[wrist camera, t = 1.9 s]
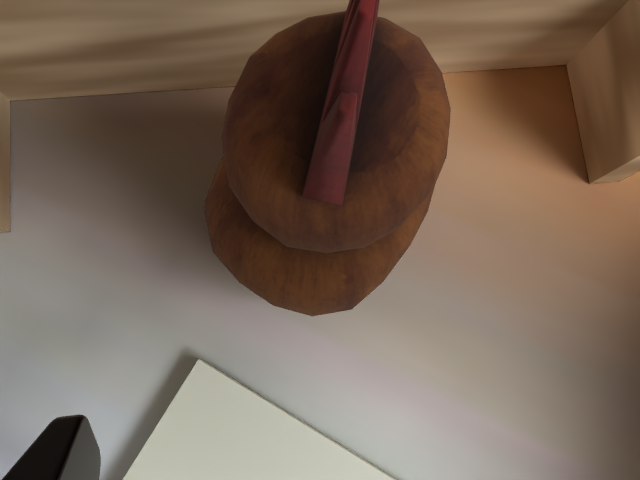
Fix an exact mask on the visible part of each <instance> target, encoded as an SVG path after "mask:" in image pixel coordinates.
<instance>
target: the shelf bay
mask: <svg viewBox="0 0 640 480" xmlns="http://www.w3.org/2000/svg"><path fill="white" fill-rule="evenodd" d="M349 1H350V0H0V232H10V101H14V100H29V99H45V98H60V97H76V96H91V95H107V94H122V93H138V92H153V91H168V90H184V89H199V88H215V87H230V86H236V84H237V82H238V80H239V78H240V76H241V74H242V72H243V69H244V67H245V65H246V63H247V61H248V59H249V57H250V56H251V55H252V54H253V53H254V52H256V51H257V50H258V49H259V48H260V47H261V46H262V45H264V44H265V43H266V42H267V41H268V40H269V39H270V38H272V37H273V36H274V35H275V34H276V33H278V32H280V31H282V30H284V29H286V28H288V27H290V26H292V25H294V24H296V23H298V22H300V21H302V20H304V19H306V18H308V17H313V16H319V15H325V14H331V13H336V12H342V11H346V10H347V7H348V4H349ZM377 17H382V18H386V19H388V20H389V21H391V22H393V23H395V24H396V25H398V26H400V27H402V28H403V29H405V30H407V31H409V32H410V33H412V34H414V35H416V36H417V37H419V38H420V39H421V40H422V42H423V43H424V45H425V46H426V48H427V50H428V51H429V53H430V54H431V56H432V58H433V59H434V61H435V62H436V64H437V66H438V67H439V69H440V70H441V72H442V73H447V72H462V71H477V70H493V69H508V68H524V67H539V66H555V65H566V66H567V71H568V76H569V81H570V86H571V92H572V97H573V102H574V107H575V112H576V117H577V122H578V127H579V133H580V138H581V143H582V148H583V153H584V158H585V163H586V168H587V173H588V179H589V184H595V183H607V182H619V181H621V180H623V179H625V178H627V177H629V176H631V175H633V174H635V173H636V172H638V171H640V0H380V2H379V9H378V16H377Z"/></svg>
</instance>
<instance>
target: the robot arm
mask: <svg viewBox="0 0 640 480" xmlns="http://www.w3.org/2000/svg"><path fill="white" fill-rule="evenodd" d="M100 464H101V457H100V450H99V447H98V444H97V441H96V439H95V436H94V434H93V431H92V429H91V426H90V423H89V421H88V419H87V418H86V417H85V416H84V415H72V416H63V417H58V418H56V419H54V420H53V421H52V422H51V423H50V424H49V425H48V426H47V427H46V429H45V430H44V431H43V432H42V433H41V434H40V436H39V437H38V438H37V439H36V440H35V441H34V443H33V444H32V445H31V446H30V447H29V448H28V450H27V451H26V452H25V453H24V454H23V455H22V457H21V458H20V459H19V460H18V461H17V462H16V464H15V465H14V466H13V467H12V468H11V469H10V471H9V472H8V473H7V474H6V475H5V476H4V478H3V479H2V480H99V475H100Z"/></svg>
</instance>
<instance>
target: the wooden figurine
mask: <svg viewBox="0 0 640 480" xmlns="http://www.w3.org/2000/svg"><path fill="white" fill-rule="evenodd" d="M379 2H380V0H350V1H349V4H348V7H347V10H346V11H342V12H336V13H331V14H325V15H319V16H313V17H308V18H306V19H304V20H302V21H300V22H298V23H296V24H294V25H292V26H290V27H288V28H286V29H284V30H282V31H280V32H278V33H276V34H275V35H274V36H273V37H272V38H270V39H269V40H268V41H267V42H266V43H265V44H264V45H262V46H261V47H260V48H259V49H258V50H257V51H256V52H254V53H253V54H252V55H251V56H250V57H249V59H248V61H247V63H246V65H245V67H244V69H243V72H242V74H241V76H240V78H239V80H238V82H237V84H236V86H235V88H234V90H233V92H232V94H231V97H230V99H229V101H228V107H227V112H226V117H225V122H224V128H223V133H222V143H223V152H224V157H223V159H222V161H221V162H220V164H219V166H218V169H217V172H216V174H215V177H214V179H213V182H212V185H211V187H210V190H209V193H208V195H207V198H206V200H205V216H206V221H207V226H208V230H209V235H210V240H211V245H212V249H213V252H214V253H215V255H216V256H217V257H218V258H219V259H220V260H221V262H222V263H223V264H224V265H225V266H226V267H227V268H228V270H229V271H230V272H231V273H232V274H233V275H234V277H235V278H236V279H237V280H238V281H239V282H240V283H241V284H243V285H244V286H246V287H247V288H249V289H250V290H251V291H253V292H254V293H256V294H257V295H259V296H260V297H262V298H263V299H265V300H266V301H267V302H269V303H270V304H272V305H274V306H277V307H281V308H284V309H288V310H292V311H295V312H299V313H302V314H306V315H310V316H316V315H322V314H328V313H334V312H339V311H345V310H351V309H353V308H354V307H355V306H356V305H357V304H358V303H360V302H361V301H362V300H363V299H364V298H365V297H366V296H367V295H369V294H370V293H371V292H372V291H373V290H374V289H375V288H377V287H378V286H379V285H380V284H381V283H382V282H383V281H384V280H385V278H386V277H387V276H388V274H389V273H390V272H391V270H392V269H393V268H394V266H395V265H396V263H397V262H398V261H399V259H400V258H401V257H402V255H403V254H404V253H405V251H406V250H407V249H408V247H409V246H410V244H411V242H412V240H413V239H414V237H415V235H416V233H417V231H418V229H419V227H420V225H421V223H422V221H423V219H424V217H425V215H426V213H427V211H428V208H429V204H430V201H431V197H432V194H433V190H434V186H435V183H436V181H437V178H438V176H439V173H440V171H441V168H442V166H443V163H444V161H445V159H446V155H447V145H448V134H449V124H450V105H449V101H448V96H447V92H446V88H445V84H444V80H443V76H442V72H441V70H440V69H439V67H438V66H437V64H436V62H435V61H434V59H433V58H432V56H431V54H430V53H429V51H428V50H427V48H426V46H425V45H424V43H423V42H422V40H421V39H420V38H419V37H417V36H416V35H414V34H412V33H410V32H409V31H407V30H405V29H403V28H402V27H400V26H398V25H396V24H395V23H393V22H391V21H389V20H388V19H386V18H382V17H377V16H378V9H379Z"/></svg>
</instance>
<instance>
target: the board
mask: <svg viewBox="0 0 640 480" xmlns="http://www.w3.org/2000/svg"><path fill="white" fill-rule="evenodd" d="M123 480H397V479H395V478H393V477H392V476H390V475H388V474H387V473H385V472H384V471H382V470H380V469H379V468H377V467H375V466H374V465H372V464H371V463H369V462H367V461H366V460H364V459H362V458H361V457H359V456H358V455H356V454H354V453H353V452H351V451H349V450H348V449H346V448H345V447H343V446H341V445H340V444H338V443H336V442H335V441H333V440H332V439H330V438H328V437H327V436H325V435H323V434H322V433H320V432H319V431H317V430H315V429H314V428H312V427H310V426H309V425H307V424H306V423H304V422H302V421H301V420H299V419H297V418H296V417H294V416H293V415H291V414H289V413H288V412H286V411H284V410H283V409H281V408H280V407H278V406H276V405H275V404H273V403H271V402H270V401H268V400H267V399H265V398H263V397H262V396H260V395H258V394H257V393H255V392H254V391H252V390H250V389H249V388H247V387H245V386H244V385H242V384H241V383H239V382H237V381H236V380H234V379H232V378H231V377H229V376H228V375H226V374H224V373H223V372H221V371H219V370H218V369H216V368H215V367H213V366H211V365H210V364H208V363H206V362H205V361H203V360H202V359H198V361H197V362H196V364H195V366H194V367H193V369H192V370H191V372H190V374H189V375H188V377H187V378H186V380H185V381H184V383H183V385H182V386H181V388H180V389H179V391H178V393H177V394H176V396H175V397H174V399H173V401H172V402H171V404H170V405H169V407H168V408H167V410H166V412H165V413H164V415H163V416H162V418H161V420H160V421H159V423H158V424H157V426H156V428H155V429H154V431H153V432H152V434H151V436H150V437H149V439H148V440H147V442H146V443H145V445H144V447H143V448H142V450H141V451H140V453H139V455H138V456H137V458H136V459H135V461H134V463H133V464H132V466H131V467H130V469H129V470H128V472H127V474H126V475H125V477H124V478H123Z"/></svg>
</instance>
